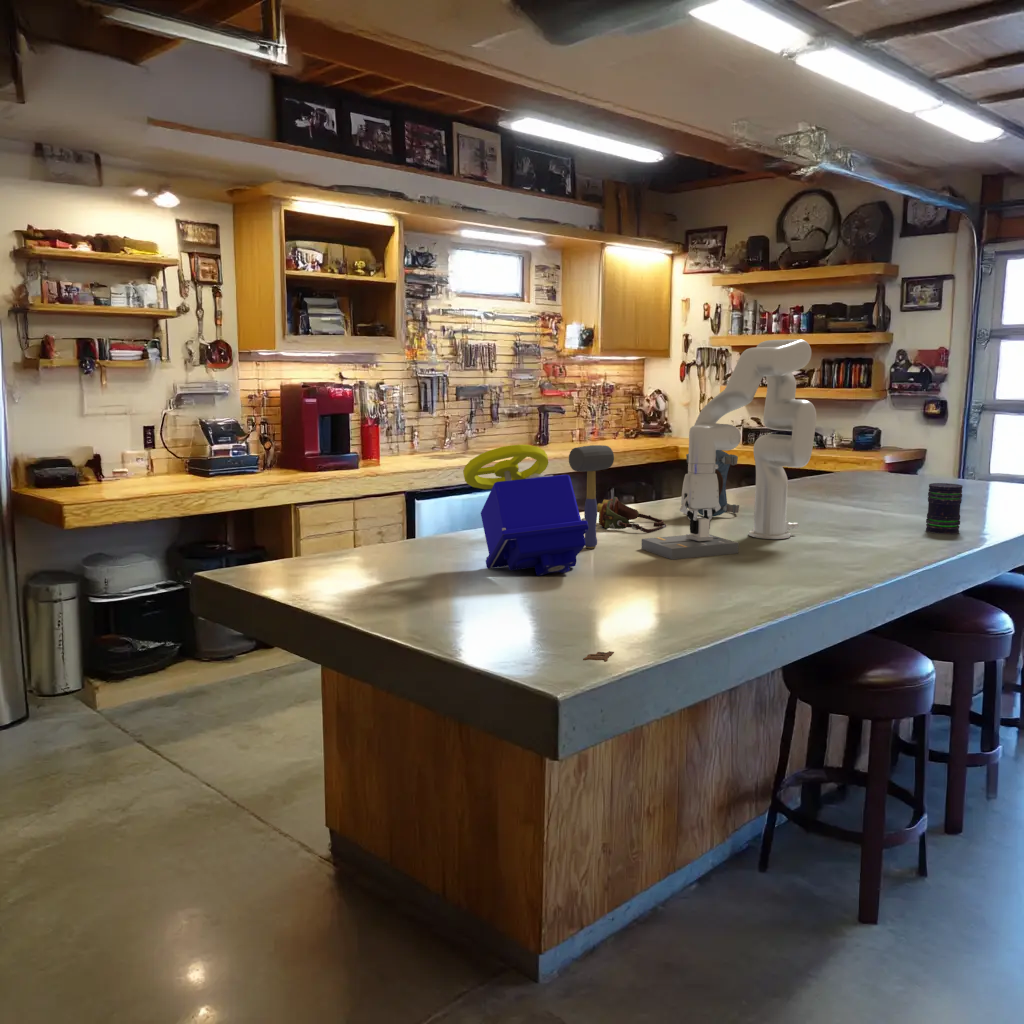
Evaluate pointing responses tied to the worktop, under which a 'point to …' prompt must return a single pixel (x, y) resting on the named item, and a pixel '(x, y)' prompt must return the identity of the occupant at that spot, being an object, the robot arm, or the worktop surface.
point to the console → (688, 547)
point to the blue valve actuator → (527, 512)
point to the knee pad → (722, 481)
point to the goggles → (623, 516)
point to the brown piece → (599, 656)
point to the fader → (701, 530)
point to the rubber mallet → (591, 481)
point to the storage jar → (944, 508)
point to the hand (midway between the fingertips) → (699, 532)
